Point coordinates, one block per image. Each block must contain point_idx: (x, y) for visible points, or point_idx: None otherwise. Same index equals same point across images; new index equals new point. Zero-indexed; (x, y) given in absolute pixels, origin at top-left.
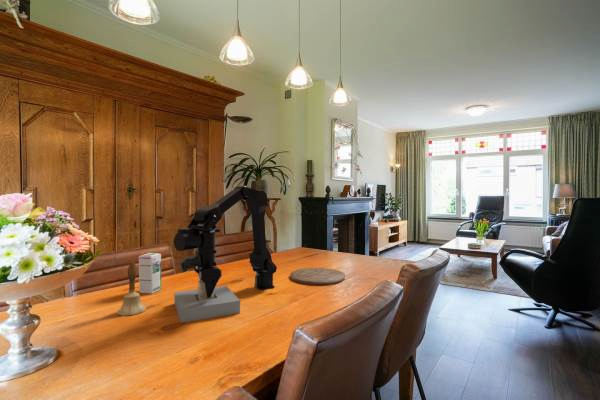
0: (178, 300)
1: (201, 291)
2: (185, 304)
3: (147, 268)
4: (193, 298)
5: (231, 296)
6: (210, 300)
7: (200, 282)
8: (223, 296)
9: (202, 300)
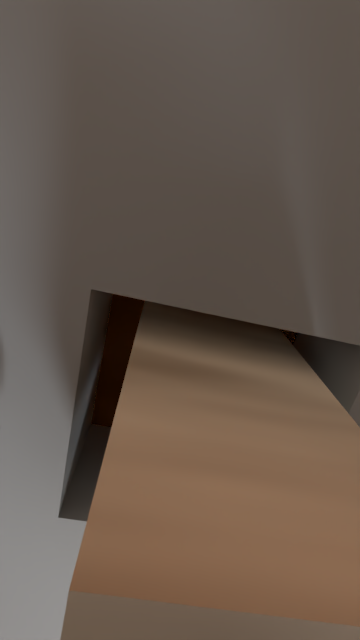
0: (311, 3)
1: (111, 429)
2: (5, 35)
3: None
4: (229, 275)
5: (20, 618)
6: (3, 424)
7: (261, 638)
8: (66, 570)
9: (59, 346)
